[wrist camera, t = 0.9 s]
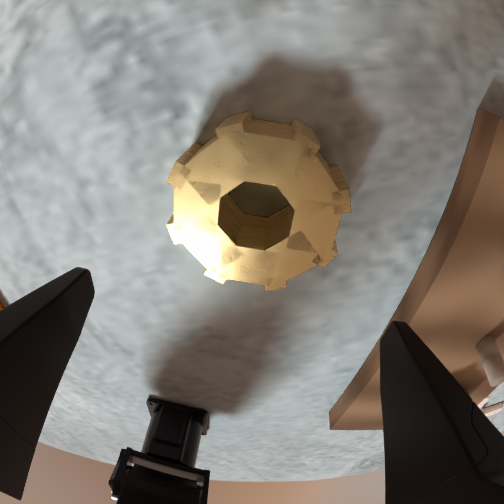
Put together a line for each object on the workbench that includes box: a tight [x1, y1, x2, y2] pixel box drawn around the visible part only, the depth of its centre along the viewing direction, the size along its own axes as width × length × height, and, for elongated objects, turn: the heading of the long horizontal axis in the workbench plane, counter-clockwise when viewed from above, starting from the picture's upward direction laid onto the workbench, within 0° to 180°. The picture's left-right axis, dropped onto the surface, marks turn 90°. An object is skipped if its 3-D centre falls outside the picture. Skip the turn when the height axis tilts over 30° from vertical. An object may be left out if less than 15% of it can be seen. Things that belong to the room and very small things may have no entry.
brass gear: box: [166, 111, 351, 291], centre depth 14 cm, size 8×8×3 cm
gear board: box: [329, 109, 504, 430], centre depth 17 cm, size 28×16×6 cm, turn 172°
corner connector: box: [477, 396, 503, 417], centre depth 27 cm, size 8×8×2 cm
